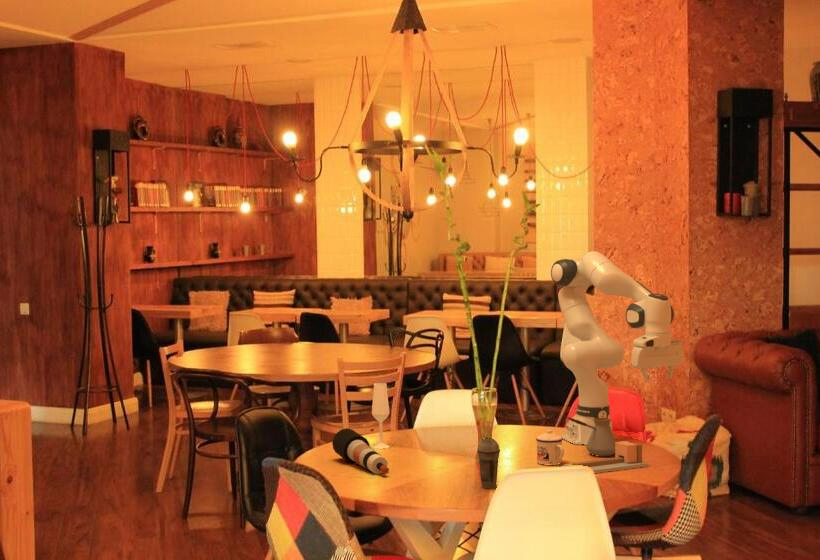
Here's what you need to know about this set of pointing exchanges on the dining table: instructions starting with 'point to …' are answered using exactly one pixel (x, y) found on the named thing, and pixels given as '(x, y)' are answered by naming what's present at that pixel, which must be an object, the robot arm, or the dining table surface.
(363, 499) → the dining table surface
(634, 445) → the block
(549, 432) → the teacup with lid
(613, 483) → the dining table surface
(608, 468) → the rail board
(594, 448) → the coffee pot
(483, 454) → the beverage cup
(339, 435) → the cable
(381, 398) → the champagne flute
